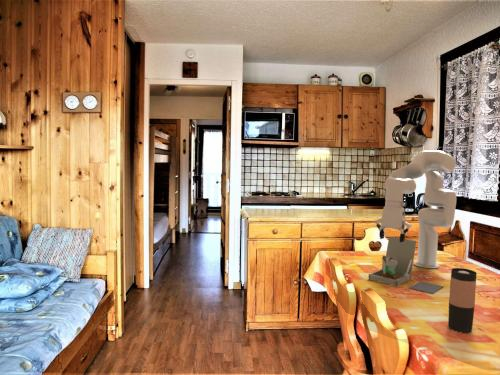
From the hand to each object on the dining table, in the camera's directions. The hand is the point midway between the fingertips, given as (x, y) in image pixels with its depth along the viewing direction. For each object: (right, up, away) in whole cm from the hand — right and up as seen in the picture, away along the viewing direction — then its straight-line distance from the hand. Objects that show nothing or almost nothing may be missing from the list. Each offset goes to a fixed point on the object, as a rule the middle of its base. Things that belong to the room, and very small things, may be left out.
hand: (391, 240), depth 187 cm
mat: (+12, -20, -10) cm, 25 cm away
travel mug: (+4, -23, -53) cm, 58 cm away
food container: (0, -19, +2) cm, 19 cm away
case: (+1, -19, +3) cm, 19 cm away
